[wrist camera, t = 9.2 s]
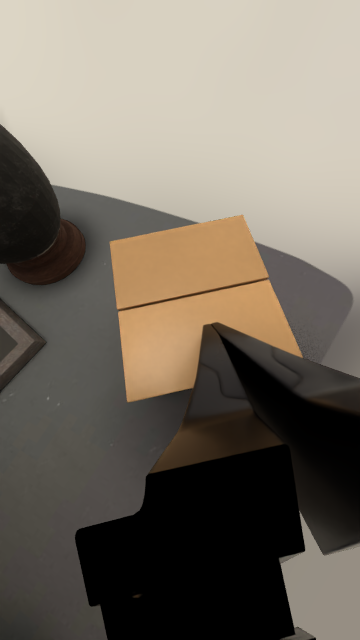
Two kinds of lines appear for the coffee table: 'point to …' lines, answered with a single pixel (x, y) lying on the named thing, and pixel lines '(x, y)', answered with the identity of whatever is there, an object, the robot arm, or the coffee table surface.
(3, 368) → the picture frame
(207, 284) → the carton
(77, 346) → the coffee table surface
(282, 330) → the flap
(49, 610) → the coffee table surface
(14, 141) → the black ball on stand
